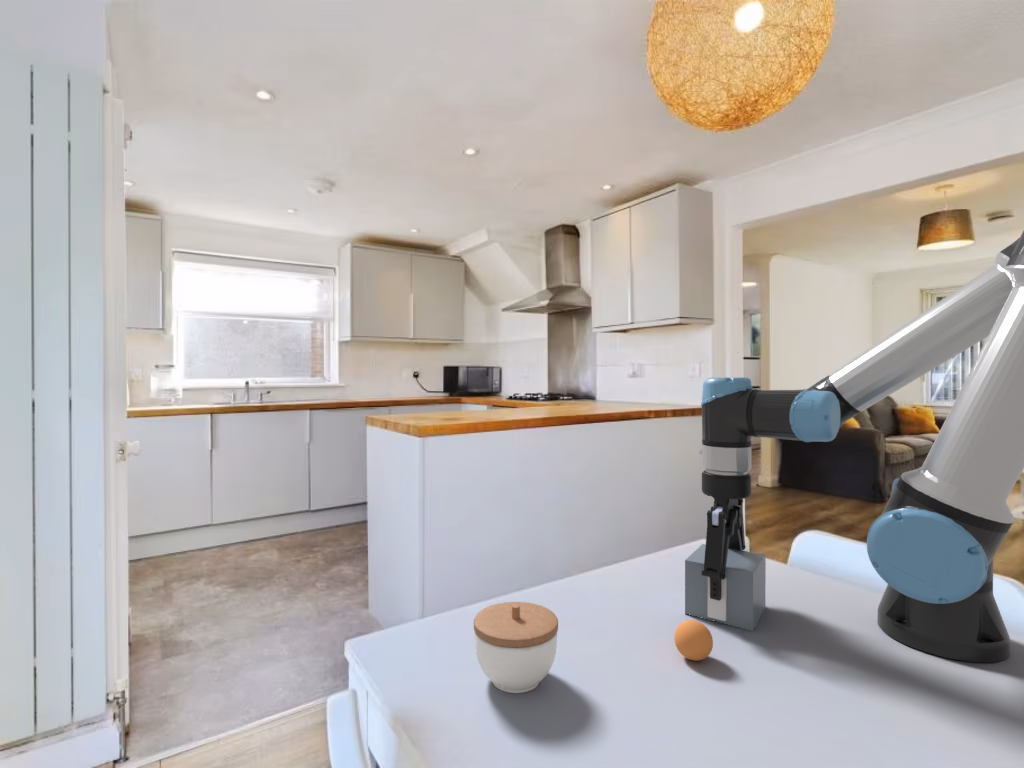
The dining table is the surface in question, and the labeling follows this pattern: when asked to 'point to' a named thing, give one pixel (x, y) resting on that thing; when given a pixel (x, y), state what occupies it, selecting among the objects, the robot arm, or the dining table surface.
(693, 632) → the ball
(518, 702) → the dining table surface
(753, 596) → the matte gray-blue box
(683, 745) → the dining table surface
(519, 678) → the lidded jar
